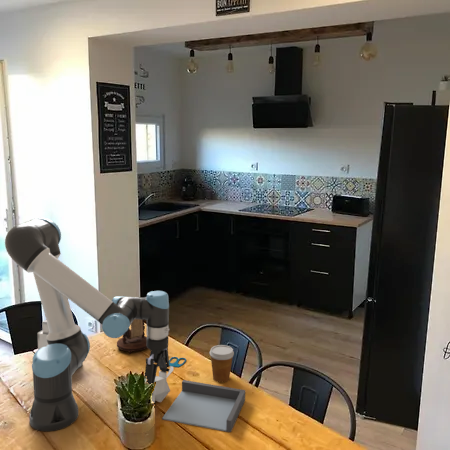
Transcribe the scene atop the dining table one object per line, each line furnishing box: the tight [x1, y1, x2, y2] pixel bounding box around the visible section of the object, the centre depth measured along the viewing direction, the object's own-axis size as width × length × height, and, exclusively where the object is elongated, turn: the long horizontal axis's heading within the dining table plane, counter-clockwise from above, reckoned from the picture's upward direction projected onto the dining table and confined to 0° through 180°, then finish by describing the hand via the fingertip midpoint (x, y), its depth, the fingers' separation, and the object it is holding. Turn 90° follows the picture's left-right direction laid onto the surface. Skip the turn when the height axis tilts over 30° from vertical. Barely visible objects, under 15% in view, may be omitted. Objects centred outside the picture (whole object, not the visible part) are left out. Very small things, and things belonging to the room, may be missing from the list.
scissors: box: [167, 356, 187, 378], centre depth 186 cm, size 7×1×20 cm
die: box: [155, 375, 171, 403], centre depth 163 cm, size 8×9×10 cm
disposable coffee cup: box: [208, 344, 235, 383], centre depth 179 cm, size 10×10×12 cm
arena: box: [161, 379, 246, 433], centre depth 158 cm, size 20×24×4 cm
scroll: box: [116, 319, 148, 354], centre depth 204 cm, size 15×15×20 cm
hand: (156, 395), depth 163 cm, fingers closed on die, 9 cm apart
